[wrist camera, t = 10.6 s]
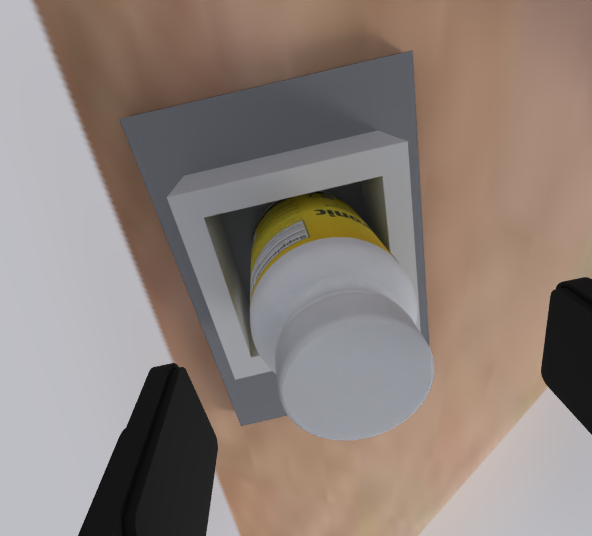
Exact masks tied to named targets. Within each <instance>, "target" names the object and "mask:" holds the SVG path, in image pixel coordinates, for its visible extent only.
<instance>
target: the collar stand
mask: <svg viewBox="0 0 592 536" xmlns="http://www.w3.org/2000/svg"><path fill="white" fill-rule="evenodd" d="M120 122H121V124H122V127H123V129H124V132H125V134H126V137H127V139H128V142H129V144H130V147H131V149H132V152H133V154H134V157H135V160H136V162H137V165H138V167H139V170H140V172H141V175H142V177H143V180H144V182H145V185H146V187H147V190H148V192H149V195H150V197H151V200H152V202H153V205H154V207H155V210H156V213H157V215H158V218H159V220H160V223H161V225H162V228H163V230H164V233H165V235H166V238H167V240H168V243H169V245H170V248H171V250H172V253H173V255H174V258H175V261H176V263H177V266H178V268H179V271H180V273H181V276H182V278H183V281H184V283H185V286H186V288H187V291H188V293H189V296H190V298H191V301H192V303H193V306H194V308H195V311H196V314H197V316H198V319H199V321H200V324H201V326H202V329H203V331H204V334H205V336H206V339H207V341H208V344H209V346H210V349H211V351H212V354H213V356H214V359H215V361H216V364H217V367H218V369H219V372H220V374H221V377H222V379H223V382H224V384H225V387H226V389H227V392H228V394H229V397H230V399H231V402H232V404H233V407H234V409H235V412H236V414H237V417H238V420H239V422H240V425H241V426H243V425H248V424H252V423H256V422H261V421H265V420H269V419H274V418H278V417H282V416H287V414H286V412H285V411H284V409H283V407H282V404H281V402H280V399H279V394H278V386H277V377H276V374H275V373H274V372H273V371H272V370H271V369H270V368H269V367H268V366H267V365H266V364H265V362H264V361H263V359H262V358H261V356H260V355H259V353H258V351H257V349H256V347H255V344H254V341H253V338H252V333H251V326H250V279H251V242H252V236H253V232H254V229H255V226H256V224H257V222H258V220H259V218H260V217H261V215H262V214H263V213H264V211H265V210H266V209H267V208H268V207H269V206H270V205H271V204H272V203H273V202H275V201H277V200H282V199H286V198H290V197H294V196H299V195H303V194H307V193H312V192H316V191H320V190H321V191H325V192H328V193H331V194H334V195H336V196H338V197H340V198H341V199H343V200H344V201H345V202H347V203H348V204H349V205H350V206H351V207H352V208H353V209H354V210H355V211H356V212H357V214H358V215H359V216H360V217H361V218H362V220H363V221H364V222H365V223H366V224H367V225H368V227H369V228H370V229H371V230H372V231H373V233H374V234H375V235H376V236H377V237H378V239H379V240H380V241H381V242H382V243H383V245H384V246H385V247H386V248H387V250H388V251H389V252H390V253H391V254H392V255H393V256H394V257H395V258H396V260H397V261H398V262H399V264H400V265H401V267H402V268H403V269H404V271H405V272H406V274H407V275H408V277H409V279H410V280H411V283H412V285H413V288H414V291H415V294H416V299H417V308H418V309H417V322H416V327H417V328H418V330H419V331H420V333H421V334H422V336H423V337H424V339H425V340H426V342H427V343H428V346H429V334H428V316H427V299H426V281H425V264H424V246H423V228H422V211H421V193H420V176H419V158H418V140H417V123H416V105H415V87H414V70H413V52H412V51H408V52H403V53H399V54H395V55H391V56H386V57H382V58H378V59H374V60H369V61H365V62H361V63H356V64H352V65H348V66H344V67H339V68H335V69H331V70H327V71H322V72H318V73H314V74H310V75H305V76H301V77H297V78H292V79H288V80H284V81H280V82H275V83H271V84H267V85H263V86H258V87H254V88H250V89H245V90H241V91H237V92H233V93H228V94H224V95H220V96H216V97H211V98H207V99H203V100H198V101H194V102H190V103H186V104H181V105H177V106H173V107H169V108H164V109H160V110H156V111H152V112H147V113H143V114H139V115H134V116H130V117H126V118H122V119H120Z"/></svg>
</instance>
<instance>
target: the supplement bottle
mask: <svg viewBox="0 0 592 536" xmlns="http://www.w3.org/2000/svg"><path fill="white" fill-rule="evenodd" d="M417 309H418V308H417V299H416V294H415V291H414V288H413V285H412V283H411V280H410V279H409V277H408V275H407V274H406V272H405V271H404V269H403V268H402V267H401V265H400V264H399V262H398V261H397V260H396V258H395V257H394V256H393V255H392V254H391V253H390V252H389V251H388V250H387V248H386V247H385V246H384V245H383V243H382V242H381V241H380V240H379V239H378V237H377V236H376V235H375V234H374V233H373V231H372V230H371V229H370V228H369V227H368V225H367V224H366V223H365V222H364V221H363V220H362V218H361V217H360V216H359V215H358V214H357V212H356V211H355V210H354V209H353V208H352V207H351V206H350V205H349V204H348V203H347V202H345V201H344V200H343V199H341V198H340V197H338V196H336V195H334V194H331V193H328V192H325V191H321V190H320V191H316V192H312V193H307V194H303V195H299V196H294V197H290V198H286V199H282V200H277V201H275V202H273V203H272V204H271V205H270V206H269V207H268V208H267V209H266V210H265V211H264V213H263V214H262V215H261V217H260V218H259V220H258V222H257V224H256V226H255V229H254V232H253V236H252V242H251V279H250V326H251V333H252V338H253V341H254V344H255V347H256V349H257V351H258V353H259V355H260V356H261V358H262V359H263V361H264V362H265V364H266V365H267V366H268V367H269V368H270V369H271V370H272V371H273V372H274V373H275V374H276V377H277V386H278V394H279V399H280V402H281V404H282V407H283V409H284V411H285V412H286V414H287V415H288V416H289V418H290V419H291V420H292V421H293V422H294V423H295V424H296V425H298V426H299V427H300V428H302V429H303V430H305V431H307V432H309V433H311V434H313V435H316V436H319V437H322V438H326V439H332V440H358V439H364V438H369V437H373V436H376V435H379V434H382V433H384V432H386V431H389V430H391V429H392V428H394V427H396V426H398V425H399V424H401V423H403V422H404V421H405V420H407V419H408V418H409V417H410V416H411V415H412V414H413V413H414V412H415V411H416V410H417V409H418V408H419V407H420V405H421V404H422V403H423V402H424V400H425V398H426V397H427V395H428V393H429V391H430V388H431V385H432V382H433V377H434V360H433V356H432V353H431V350H430V348H429V346H428V343H427V342H426V340H425V339H424V337H423V336H422V334H421V333H420V331H419V330H418V328H417V327H416V322H417Z"/></svg>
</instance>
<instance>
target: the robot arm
mask: <svg viewBox="0 0 592 536" xmlns="http://www.w3.org/2000/svg"><path fill="white" fill-rule="evenodd" d="M541 374H542V377H543V380H544V382H545V383H546V385H547V386H548V387H549V388H550V389H551V390H552V391H553V392H554V394H555V395H556V396H557V397H558V398H559V399H560V400H561V401H562V402H563V404H565V406H566V407H567V408H568V409H569V410H570V411H571V412H572V413H573V414H574V416H575V417H576V418H577V419H578V420H579V421H580V422H581V423H582V424H583V425H584V427H585V428H586V429H587V430H588V431H589V432H590V433H591V434H592V279H590V278H586V277H583V278H579V279H574V280H569V281H564V282H561V283H559V284H558V285H557V287H556V289H555V290H553V291H552V292H551V296H550V304H549V312H548V320H547V328H546V336H545V344H544V351H543V359H542V367H541ZM217 451H218V444H217V438H216V435H215V433H214V431H213V428H212V426H211V424H210V422H209V420H208V417H207V415H206V413H205V411H204V409H203V406H202V404H201V402H200V400H199V397H198V395H197V393H196V391H195V389H194V386H193V384H192V382H191V380H190V378H189V375H188V373H187V371H186V369H185V368H184V367H181V368H179V367H178V365H177V364H175V363H172V364H167V365H162V366H157V367H153V368H151V370H150V371H149V373H148V376H147V378H146V381H145V383H144V386H143V388H142V390H141V393H140V395H139V398H138V401H137V403H136V405H135V408H134V410H133V412H132V415H131V417H130V420H129V422H128V425H127V427H126V428H125V429H124V430H123V432H122V433H121V435H120V437H119V439H118V441H117V444H116V446H115V449H114V451H113V453H112V456H111V458H110V461H109V463H108V465H107V468H106V470H105V473H104V475H103V477H102V480H101V482H100V484H99V487H98V489H97V492H96V494H95V497H94V499H93V501H92V504H91V506H90V508H89V511H88V513H87V515H86V518H85V520H84V523H83V525H82V528H81V530H80V532H79V535H78V536H206V531H207V524H208V516H209V509H210V502H211V495H212V488H213V480H214V473H215V466H216V459H217Z"/></svg>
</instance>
